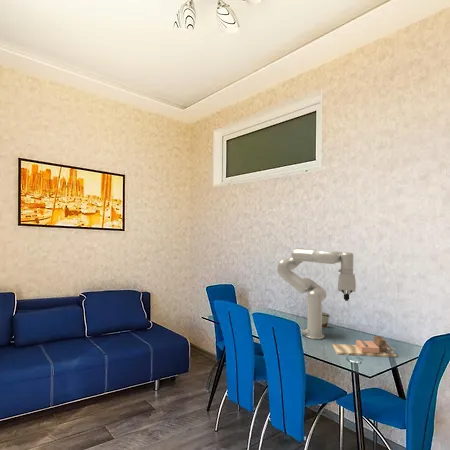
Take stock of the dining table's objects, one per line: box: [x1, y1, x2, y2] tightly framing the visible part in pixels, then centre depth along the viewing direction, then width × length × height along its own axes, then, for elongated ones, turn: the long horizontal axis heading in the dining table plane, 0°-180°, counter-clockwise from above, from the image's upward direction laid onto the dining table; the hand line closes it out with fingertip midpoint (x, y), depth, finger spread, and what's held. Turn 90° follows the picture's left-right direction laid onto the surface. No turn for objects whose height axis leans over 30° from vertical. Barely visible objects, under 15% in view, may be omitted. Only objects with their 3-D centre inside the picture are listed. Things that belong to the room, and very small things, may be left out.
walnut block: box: [373, 335, 387, 353], centre depth 203 cm, size 4×8×7 cm, turn 175°
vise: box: [331, 341, 398, 358], centre depth 204 cm, size 33×14×4 cm, turn 85°
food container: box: [322, 311, 330, 329], centre depth 253 cm, size 12×6×10 cm, turn 84°
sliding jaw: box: [355, 338, 380, 353], centre depth 204 cm, size 10×12×4 cm
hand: (346, 300), depth 219 cm, fingers closed
